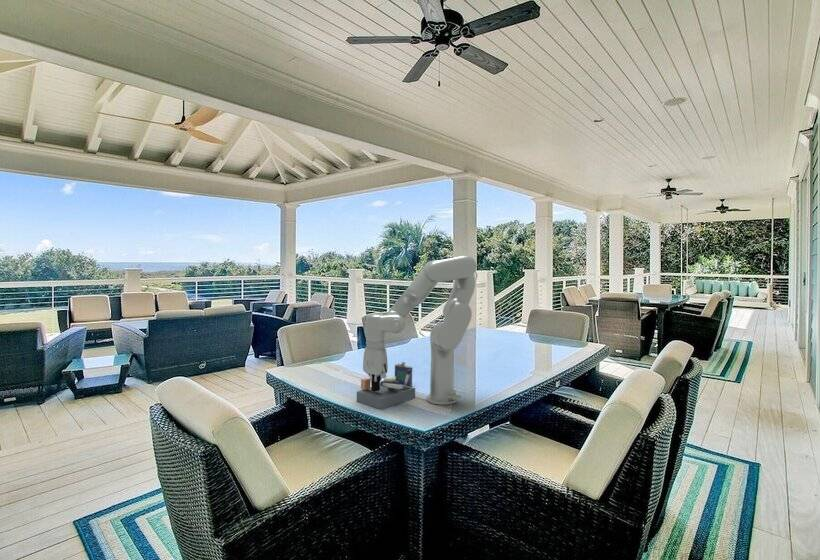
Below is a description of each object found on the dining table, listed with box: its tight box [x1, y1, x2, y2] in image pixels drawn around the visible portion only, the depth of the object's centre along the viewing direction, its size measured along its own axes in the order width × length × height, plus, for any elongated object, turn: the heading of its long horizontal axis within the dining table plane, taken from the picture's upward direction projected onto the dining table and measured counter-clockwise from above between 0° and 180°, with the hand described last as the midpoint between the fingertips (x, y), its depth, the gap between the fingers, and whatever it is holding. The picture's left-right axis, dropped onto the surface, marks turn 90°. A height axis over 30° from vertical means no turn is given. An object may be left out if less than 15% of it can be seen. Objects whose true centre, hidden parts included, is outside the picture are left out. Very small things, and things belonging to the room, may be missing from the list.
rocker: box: [382, 383, 403, 389], centre depth 169 cm, size 4×8×1 cm, turn 139°
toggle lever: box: [404, 369, 413, 387], centre depth 174 cm, size 2×2×7 cm
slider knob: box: [360, 377, 371, 390], centre depth 171 cm, size 2×3×4 cm
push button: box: [383, 375, 396, 383], centre depth 178 cm, size 5×5×3 cm
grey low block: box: [356, 380, 416, 411], centre depth 172 cm, size 14×20×6 cm
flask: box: [394, 361, 413, 387], centre depth 193 cm, size 9×3×11 cm, turn 59°
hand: (375, 390), depth 168 cm, fingers closed
